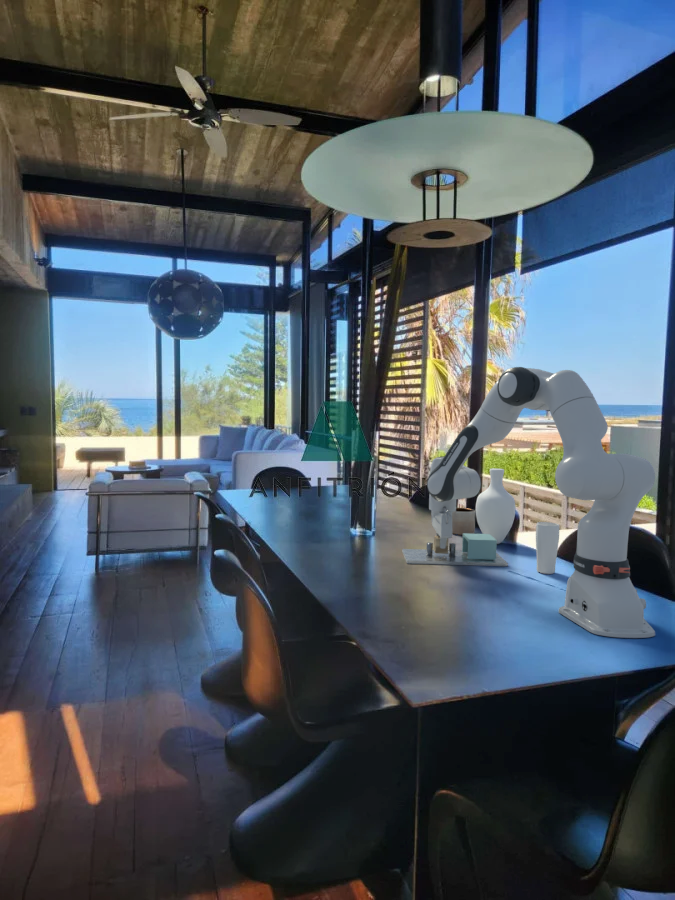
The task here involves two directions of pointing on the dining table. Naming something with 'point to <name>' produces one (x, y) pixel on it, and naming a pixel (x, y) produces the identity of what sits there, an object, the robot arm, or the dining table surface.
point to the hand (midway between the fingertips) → (441, 546)
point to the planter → (463, 521)
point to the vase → (495, 508)
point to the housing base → (447, 557)
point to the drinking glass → (546, 546)
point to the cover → (479, 546)
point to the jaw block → (437, 546)
